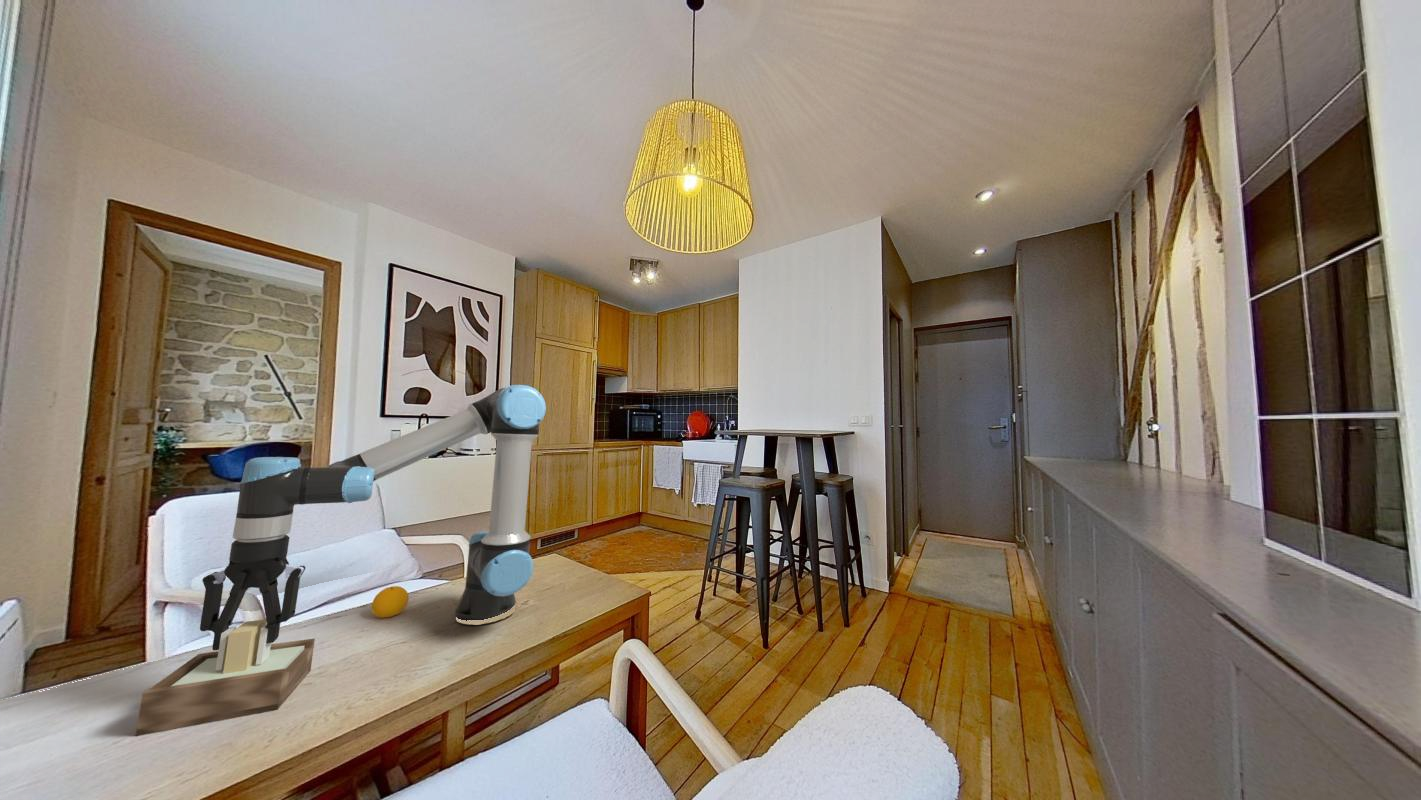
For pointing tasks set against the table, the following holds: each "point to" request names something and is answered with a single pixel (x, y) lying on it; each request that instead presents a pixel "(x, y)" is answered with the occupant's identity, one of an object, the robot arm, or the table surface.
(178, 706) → the case
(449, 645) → the table surface
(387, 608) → the orange
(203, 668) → the lid
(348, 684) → the table surface
